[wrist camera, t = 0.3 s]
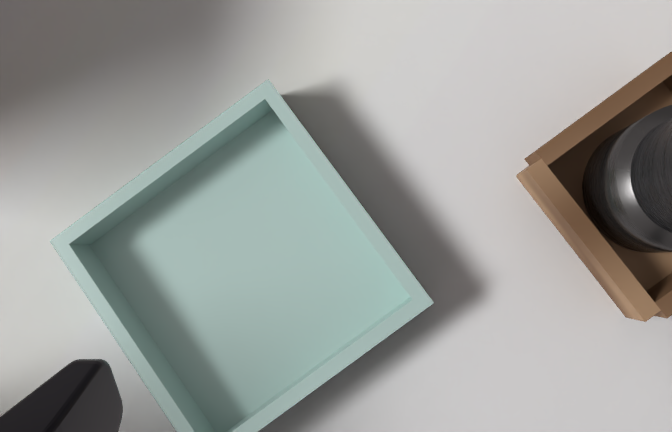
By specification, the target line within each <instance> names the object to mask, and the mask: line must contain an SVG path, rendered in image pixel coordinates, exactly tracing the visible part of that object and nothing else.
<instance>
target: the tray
mask: <svg viewBox="0 0 672 432" xmlns="http://www.w3.org/2000/svg"><path fill="white" fill-rule="evenodd" d="M50 242H51V244H52V245H53V247H54V248H55V250H56V251H57V253H58V254H59V256H60V257H61V259H62V260H63V262H64V263H65V265H66V266H67V268H68V269H69V271H70V272H71V274H72V275H73V277H74V278H75V280H76V281H77V283H78V284H79V286H80V287H81V289H82V290H83V292H84V293H85V295H86V296H87V298H88V299H89V301H90V302H91V304H92V305H93V307H94V308H95V310H96V311H97V313H98V314H99V316H100V317H101V319H102V320H103V322H104V323H105V325H106V326H107V328H108V329H109V331H110V332H111V334H112V335H113V337H114V338H115V340H116V341H117V343H118V344H119V346H120V348H121V349H122V351H123V352H124V354H125V355H126V357H127V358H128V360H129V361H130V363H131V364H132V366H133V367H134V369H135V370H136V372H137V373H138V375H139V376H140V378H141V379H142V381H143V382H144V384H145V385H146V387H147V388H148V390H149V391H150V393H151V394H152V396H153V397H154V399H155V400H156V402H157V403H158V405H159V406H160V408H161V409H162V411H163V412H164V414H165V415H166V417H167V418H168V420H169V421H170V423H171V424H172V426H173V427H174V429H175V430H176V432H258V431H259V430H261V429H262V428H263V427H265V426H266V425H268V424H269V423H270V422H272V421H273V420H274V419H276V418H277V417H279V416H280V415H281V414H283V413H284V412H285V411H287V410H288V409H289V408H291V407H292V406H294V405H295V404H296V403H298V402H299V401H300V400H302V399H303V398H305V397H306V396H307V395H309V394H310V393H311V392H313V391H314V390H316V389H317V388H318V387H320V386H321V385H322V384H324V383H325V382H326V381H328V380H329V379H331V378H332V377H333V376H335V375H336V374H337V373H339V372H340V371H342V370H343V369H344V368H346V367H347V366H348V365H350V364H351V363H352V362H354V361H355V360H357V359H358V358H359V357H361V356H362V355H363V354H365V353H366V352H368V351H369V350H370V349H372V348H373V347H374V346H376V345H377V344H379V343H380V342H381V341H383V340H384V339H385V338H387V337H388V336H389V335H391V334H392V333H394V332H395V331H396V330H398V329H399V328H400V327H402V326H403V325H405V324H406V323H407V322H409V321H410V320H411V319H413V318H414V317H415V316H417V315H418V314H420V313H421V312H422V311H424V310H425V309H426V308H428V307H429V306H431V305H432V304H433V303H434V302H433V301H432V300H431V298H430V297H429V296H428V294H427V293H426V291H425V290H424V289H423V287H422V286H421V285H420V283H419V282H418V281H417V279H416V278H415V277H414V275H413V274H412V273H411V271H410V270H409V268H408V267H407V266H406V264H405V263H404V262H403V260H402V259H401V258H400V256H399V255H398V254H397V252H396V251H395V250H394V248H393V247H392V246H391V244H390V243H389V241H388V240H387V239H386V237H385V236H384V235H383V233H382V232H381V231H380V229H379V228H378V227H377V225H376V224H375V223H374V221H373V220H372V219H371V217H370V216H369V214H368V213H367V212H366V210H365V209H364V208H363V206H362V205H361V204H360V202H359V201H358V200H357V198H356V197H355V196H354V194H353V193H352V191H351V190H350V189H349V187H348V186H347V185H346V183H345V182H344V181H343V179H342V178H341V177H340V175H339V174H338V173H337V171H336V170H335V169H334V167H333V166H332V164H331V163H330V162H329V160H328V159H327V158H326V156H325V155H324V154H323V152H322V151H321V150H320V148H319V147H318V146H317V144H316V143H315V142H314V140H313V139H312V137H311V136H310V135H309V133H308V132H307V131H306V129H305V128H304V127H303V125H302V124H301V123H300V121H299V120H298V119H297V117H296V116H295V114H294V113H293V112H292V110H291V109H290V108H289V106H288V105H287V104H286V102H285V101H284V100H283V98H282V97H281V96H280V94H279V93H278V92H277V90H276V89H275V87H274V86H273V85H272V83H271V82H270V81H269V79H268V80H266V81H265V82H264V83H262V84H261V85H260V86H258V87H257V88H255V89H254V90H253V91H251V92H250V93H249V94H247V95H246V96H245V97H243V98H242V99H241V100H239V101H238V102H237V103H235V104H234V105H233V106H231V107H230V108H228V109H227V110H226V111H224V112H223V113H222V114H220V115H219V116H218V117H216V118H215V119H214V120H212V121H211V122H210V123H208V124H207V125H206V126H204V127H203V128H202V129H200V130H199V131H197V132H196V133H195V134H193V135H192V136H191V137H189V138H188V139H187V140H185V141H184V142H183V143H181V144H180V145H179V146H177V147H176V148H175V149H173V150H172V151H170V152H169V153H168V154H166V155H165V156H164V157H162V158H161V159H160V160H158V161H157V162H156V163H154V164H153V165H152V166H150V167H149V168H148V169H146V170H145V171H144V172H142V173H141V174H139V175H138V176H137V177H135V178H134V179H133V180H131V181H130V182H129V183H127V184H126V185H125V186H123V187H122V188H121V189H119V190H118V191H117V192H115V193H114V194H113V195H111V196H110V197H108V198H107V199H106V200H104V201H103V202H102V203H100V204H99V205H98V206H96V207H95V208H94V209H92V210H91V211H90V212H88V213H87V214H86V215H84V216H83V217H81V218H80V219H79V220H77V221H76V222H75V223H73V224H72V225H71V226H69V227H68V228H67V229H65V230H64V231H63V232H61V233H60V234H59V235H57V236H56V237H55V238H53V239H52V240H50Z"/></svg>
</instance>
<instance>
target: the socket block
mask: <svg viewBox="0 0 672 432" xmlns="http://www.w3.org/2000/svg"><path fill="white" fill-rule="evenodd" d="M669 105H672V52H670V53H669V54H667V55H666V56H665V57H663V58H662V59H660V60H659V61H658V62H656V63H655V64H654V65H652V66H651V67H649V68H648V69H647V70H645V71H644V72H643V73H641V74H640V75H639V76H637V77H636V78H634V79H633V80H632V81H630V82H629V83H628V84H626V85H625V86H623V87H622V88H621V89H619V90H618V91H617V92H615V93H614V94H613V95H611V96H610V97H608V98H607V99H606V100H604V101H603V102H602V103H600V104H599V105H598V106H596V107H595V108H593V109H592V110H591V111H589V112H588V113H587V114H585V115H584V116H583V117H581V118H580V119H578V120H577V121H576V122H574V123H573V124H572V125H570V126H569V127H568V128H566V129H565V130H563V131H562V132H561V133H559V134H558V135H557V136H555V137H554V138H553V139H551V140H550V141H548V142H547V143H546V144H544V145H543V146H542V147H540V148H539V149H538V150H536V151H535V152H533V153H532V154H531V155H529V156H528V157H527V158H525V160H526V162H527V163H528V164H529V166H528V167H527V168H525V169H524V170H523V171H521V172H520V173H519V174H517V176H516V177H517V178H518V179H519V181H520V182H521V183H522V185H523V186H524V187H525V188H526V190H527V191H528V192H529V194H530V195H531V196H532V197H533V199H534V200H535V201H536V203H537V204H538V205H539V206H540V208H541V209H542V210H543V212H544V213H545V214H546V215H547V217H548V218H549V219H550V221H551V222H552V223H553V224H554V226H555V227H556V228H557V230H558V231H559V232H560V233H561V235H562V236H563V237H564V239H565V240H566V241H567V242H568V244H569V245H570V246H571V247H572V249H573V250H574V251H575V253H576V254H577V255H578V256H579V258H580V259H581V260H582V262H583V263H584V264H585V265H586V267H587V268H588V269H589V271H590V272H591V273H592V274H593V276H594V277H595V278H596V280H597V281H598V282H599V283H600V285H601V286H602V287H603V289H604V290H605V291H606V292H607V294H608V295H609V296H610V298H611V299H612V300H613V301H614V303H615V304H616V305H617V307H618V308H619V309H620V310H621V312H622V313H623V314H624V316H625V317H627V318H631V319H636V320H640V321H644V322H646V321H647V320H649V319H650V318H651V317H653V316H658V317H663V318H668V317H670V316H671V315H672V252H663V253H644V252H637V251H633V250H629V249H627V248H624V247H622V246H620V245H618V244H616V243H614V242H613V241H611V240H610V239H608V238H607V237H606V236H605V235H604V234H602V233H601V232H600V230H599V229H598V228H597V227H596V226H595V224H594V223H593V221H592V220H591V218H590V216H589V214H588V212H587V210H586V207H585V204H584V199H583V192H582V182H583V175H584V171H585V168H586V165H587V163H588V161H589V159H590V157H591V155H592V154H593V152H594V151H595V149H596V148H597V147H598V146H599V145H600V144H601V143H602V142H603V141H604V140H606V139H607V138H608V137H610V136H611V135H613V134H614V133H616V132H618V131H620V130H622V129H623V128H625V127H627V126H629V125H631V124H633V123H634V122H636V121H638V120H640V119H642V118H644V117H645V116H647V115H649V114H651V113H653V112H655V111H657V110H659V109H661V108H663V107H666V106H669Z"/></svg>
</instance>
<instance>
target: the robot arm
mask: <svg viewBox="0 0 672 432" xmlns="http://www.w3.org/2000/svg"><path fill="white" fill-rule="evenodd" d="M122 411H123V406H122V400H121V397H120V394H119V391H118V388H117V385H116V382H115V379H114V376H113V373H112V370H111V368H110V366H109V364H108V363H107V362H106V361H105V360H102V359H79V360H75V361H73V362H71V363H70V364H68V365H67V366H66V367H64V368H63V369H62V370H60V371H59V372H58V373H56V374H55V375H54V376H53V377H51V378H50V379H49V380H47V381H46V382H45V383H44V384H42V385H41V386H40V387H38V388H37V389H36V390H34V391H33V392H32V393H31V394H29V395H28V396H27V397H25V398H24V399H23V400H21V401H20V402H19V403H18V404H16V405H15V406H14V407H12V408H11V409H10V410H9V411H7V412H6V413H5V414H3V415H2V416H1V417H0V432H118V430H119V427H120V423H121V419H122Z"/></svg>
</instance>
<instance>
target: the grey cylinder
mask: <svg viewBox="0 0 672 432" xmlns="http://www.w3.org/2000/svg"><path fill="white" fill-rule="evenodd" d="M582 192H583V199H584V204H585V207H586V210H587V212H588V214H589V216H590V218H591V220H592V221H593V223H594V224H595V226H596V227H597V228H598V229H599V230H600V232H601V233H602V234H604V235H605V236H606V237H607V238H608V239H610V240H611V241H613V242H614V243H616V244H618V245H620V246H622V247H624V248H627V249H629V250H633V251H637V252H644V253H663V252H672V105H669V106H666V107H663V108H661V109H659V110H657V111H655V112H653V113H651V114H649V115H647V116H645V117H644V118H642V119H640V120H638V121H636V122H634V123H633V124H631V125H629V126H627V127H625V128H623V129H622V130H620V131H618V132H616V133H614V134H613V135H611V136H610V137H608V138H607V139H606V140H604V141H603V142H602V143H601V144H600V145H599V146H598V147H597V148H596V149H595V151H594V152H593V154H592V155H591V157H590V159H589V161H588V163H587V165H586V168H585V171H584V175H583V182H582Z"/></svg>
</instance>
